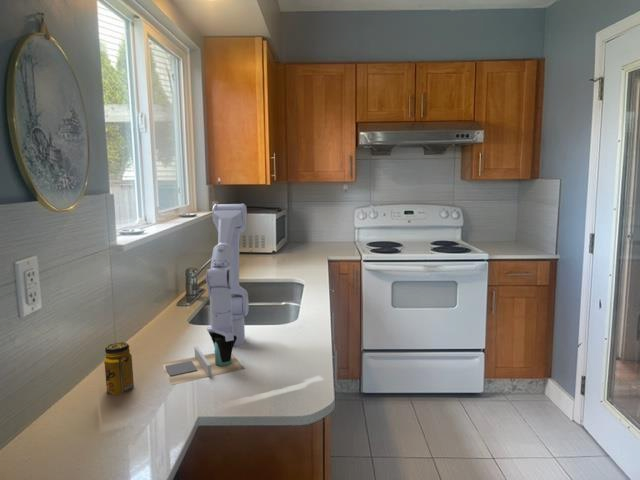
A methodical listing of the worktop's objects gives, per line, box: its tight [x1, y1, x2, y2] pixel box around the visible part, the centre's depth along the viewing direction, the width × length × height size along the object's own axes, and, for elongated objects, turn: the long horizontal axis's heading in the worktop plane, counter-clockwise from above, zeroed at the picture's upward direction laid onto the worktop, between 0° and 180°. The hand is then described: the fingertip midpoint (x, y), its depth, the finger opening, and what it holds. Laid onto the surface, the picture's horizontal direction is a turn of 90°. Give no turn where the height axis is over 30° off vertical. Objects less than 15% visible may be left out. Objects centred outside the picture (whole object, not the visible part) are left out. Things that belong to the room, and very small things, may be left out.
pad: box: [165, 361, 197, 377], centre depth 119 cm, size 7×7×1 cm
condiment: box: [103, 341, 135, 396], centre depth 108 cm, size 7×8×12 cm
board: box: [161, 352, 246, 386], centre depth 121 cm, size 15×19×1 cm
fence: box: [194, 346, 212, 378], centre depth 121 cm, size 15×1×3 cm, turn 28°
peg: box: [213, 342, 232, 366], centre depth 122 cm, size 4×4×6 cm
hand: (223, 358), depth 122 cm, fingers closed on peg, 4 cm apart
